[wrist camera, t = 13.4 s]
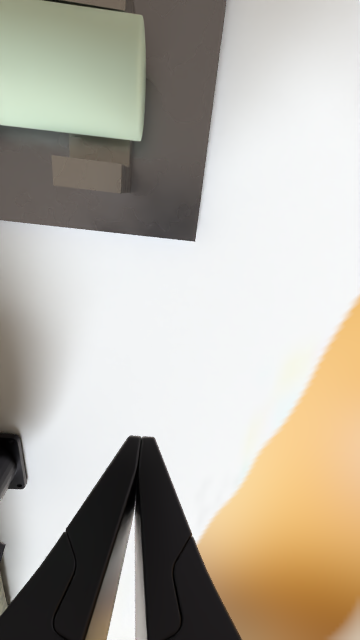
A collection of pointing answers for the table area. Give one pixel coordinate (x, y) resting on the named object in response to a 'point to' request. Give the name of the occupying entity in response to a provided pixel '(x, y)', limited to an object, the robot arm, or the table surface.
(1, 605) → the lunch bag
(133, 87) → the tube
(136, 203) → the saddle plate
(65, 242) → the table surface
